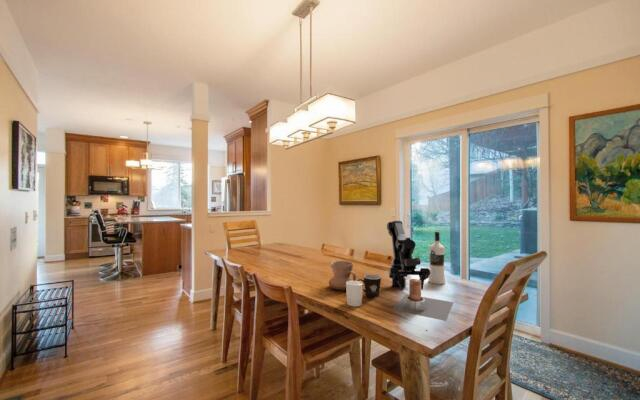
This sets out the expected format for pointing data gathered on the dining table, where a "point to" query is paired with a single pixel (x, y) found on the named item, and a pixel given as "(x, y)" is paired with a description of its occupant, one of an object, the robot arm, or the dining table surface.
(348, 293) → the white cup
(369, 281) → the coffee mug
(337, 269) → the ceramic jug
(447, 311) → the charcoal mat
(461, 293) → the dining table surface
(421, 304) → the stone sleeve
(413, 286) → the terracotta plug
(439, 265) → the vodka
